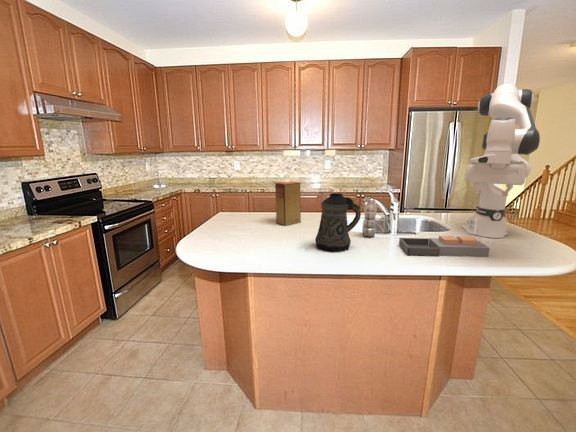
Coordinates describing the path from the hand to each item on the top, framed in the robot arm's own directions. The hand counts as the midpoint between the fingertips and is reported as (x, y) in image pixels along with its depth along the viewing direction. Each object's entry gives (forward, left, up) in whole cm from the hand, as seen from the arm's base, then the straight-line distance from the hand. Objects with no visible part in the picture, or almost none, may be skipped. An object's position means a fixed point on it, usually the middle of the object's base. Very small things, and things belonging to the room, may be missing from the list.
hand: (491, 195), depth 118 cm
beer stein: (-9, -60, -26) cm, 67 cm away
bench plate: (-6, -7, -26) cm, 28 cm away
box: (-6, -24, -26) cm, 36 cm away
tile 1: (-6, -11, -22) cm, 26 cm away
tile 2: (-6, -4, -22) cm, 23 cm away
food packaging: (-51, -87, -26) cm, 105 cm away
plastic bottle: (-26, -42, -26) cm, 56 cm away
